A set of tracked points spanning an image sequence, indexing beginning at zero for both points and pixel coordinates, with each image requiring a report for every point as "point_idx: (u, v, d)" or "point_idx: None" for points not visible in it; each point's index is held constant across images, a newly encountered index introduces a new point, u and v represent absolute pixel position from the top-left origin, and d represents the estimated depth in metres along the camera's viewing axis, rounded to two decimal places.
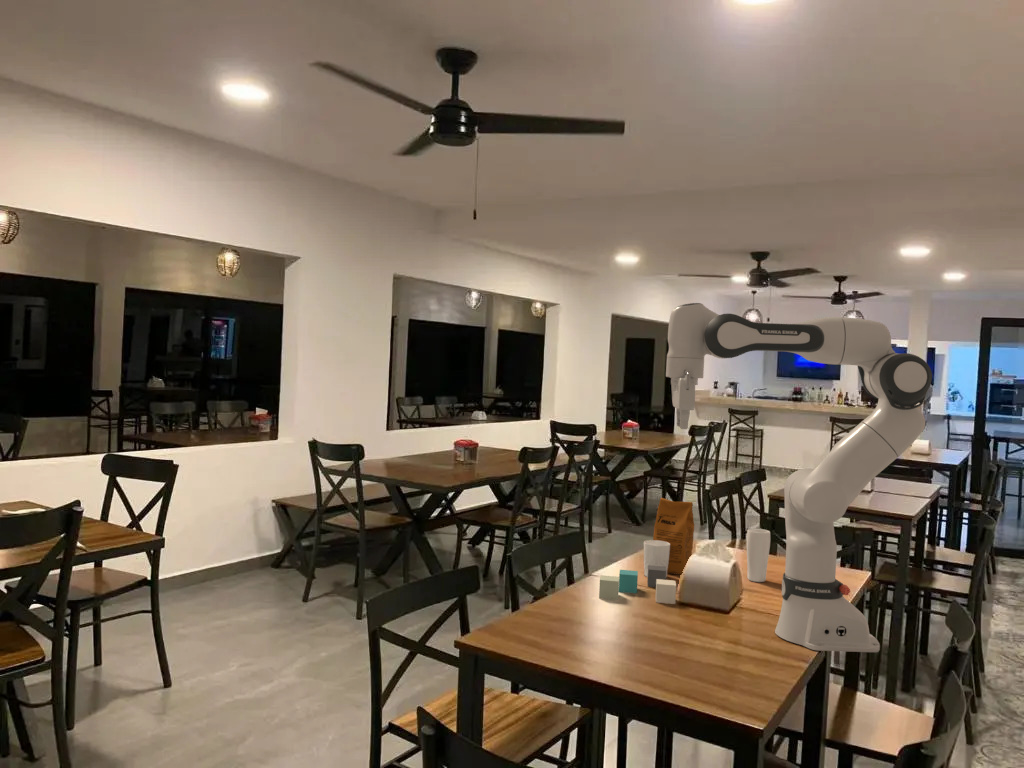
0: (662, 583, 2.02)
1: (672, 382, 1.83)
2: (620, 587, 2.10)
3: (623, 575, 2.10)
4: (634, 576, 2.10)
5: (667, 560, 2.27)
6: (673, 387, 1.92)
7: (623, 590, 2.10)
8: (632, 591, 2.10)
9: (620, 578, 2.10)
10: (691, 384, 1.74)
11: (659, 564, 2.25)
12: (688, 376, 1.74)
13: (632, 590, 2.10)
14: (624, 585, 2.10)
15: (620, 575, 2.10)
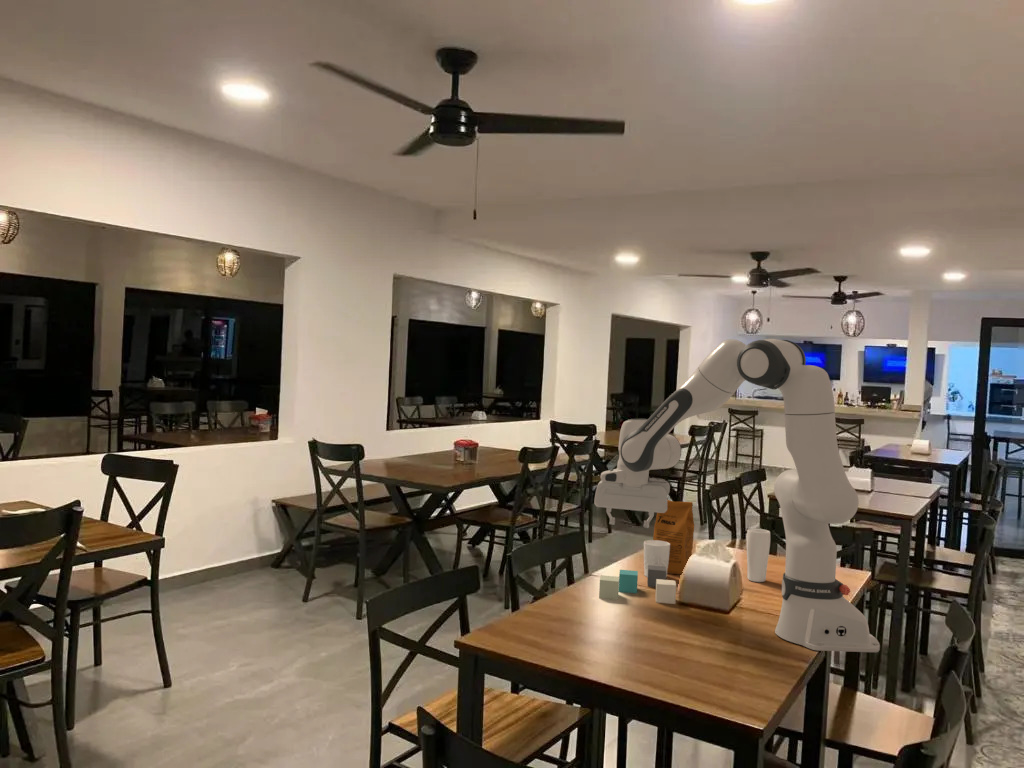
0: (662, 583, 2.02)
1: (636, 488, 2.09)
2: (620, 587, 2.10)
3: (623, 575, 2.10)
4: (634, 576, 2.10)
5: (667, 560, 2.27)
6: (603, 490, 2.11)
7: (623, 590, 2.10)
8: (632, 591, 2.10)
9: (620, 578, 2.10)
10: None
11: (659, 564, 2.25)
12: (669, 484, 2.10)
13: (632, 590, 2.10)
14: (624, 585, 2.10)
15: (620, 575, 2.10)
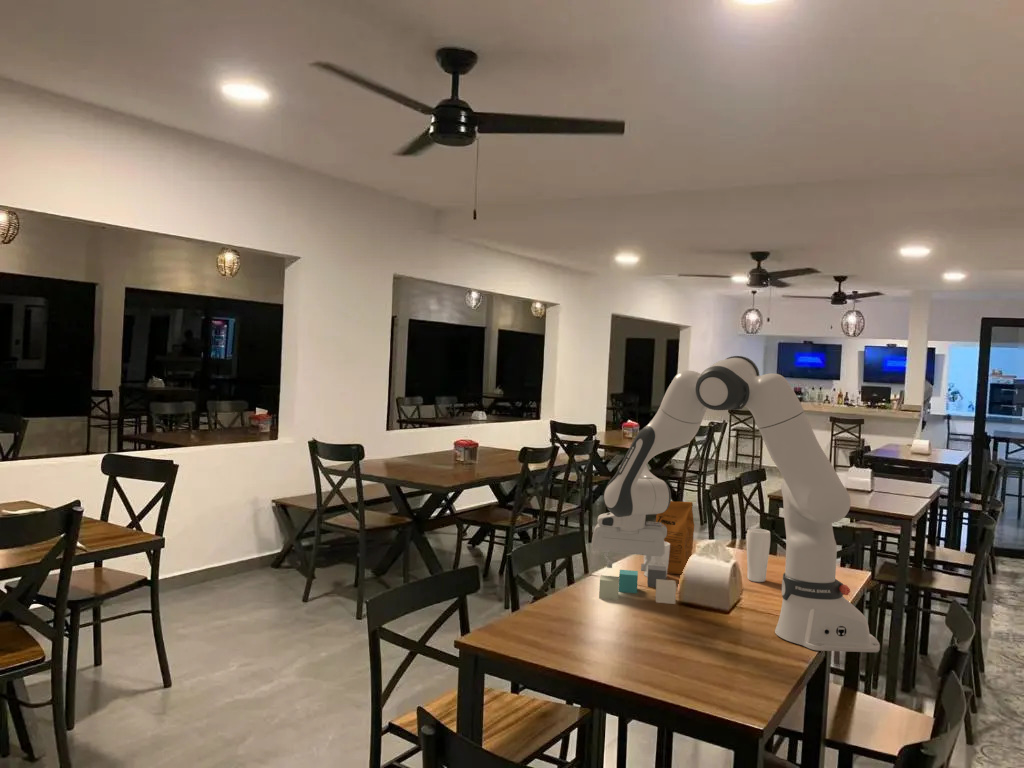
0: (662, 583, 2.02)
1: (633, 532, 2.09)
2: (620, 587, 2.10)
3: (623, 575, 2.10)
4: (634, 576, 2.10)
5: (667, 560, 2.27)
6: (600, 533, 2.11)
7: (623, 590, 2.10)
8: (632, 591, 2.10)
9: (620, 578, 2.10)
10: None
11: (659, 564, 2.25)
12: (666, 528, 2.10)
13: (632, 590, 2.10)
14: (624, 585, 2.10)
15: (620, 575, 2.10)
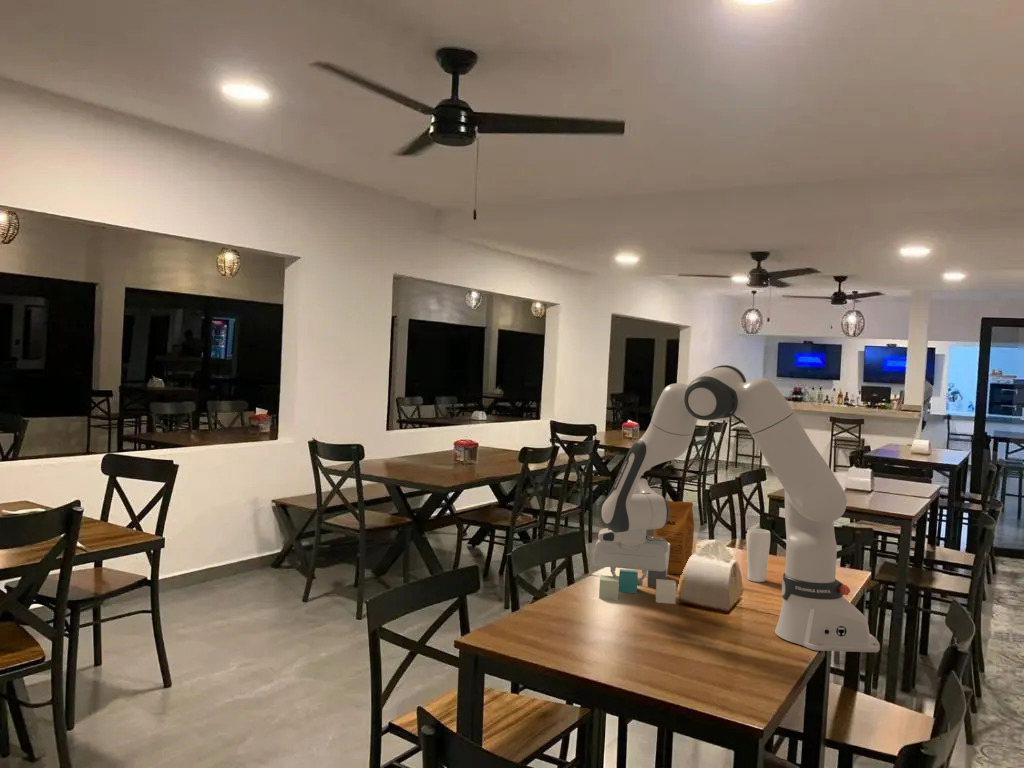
0: (662, 583, 2.02)
1: (634, 548, 2.09)
2: (620, 587, 2.10)
3: (623, 575, 2.10)
4: (634, 576, 2.10)
5: (667, 560, 2.27)
6: (601, 549, 2.12)
7: (623, 590, 2.10)
8: (632, 591, 2.10)
9: (620, 578, 2.10)
10: None
11: None
12: (667, 542, 2.11)
13: (632, 589, 2.10)
14: (624, 584, 2.10)
15: (620, 575, 2.10)
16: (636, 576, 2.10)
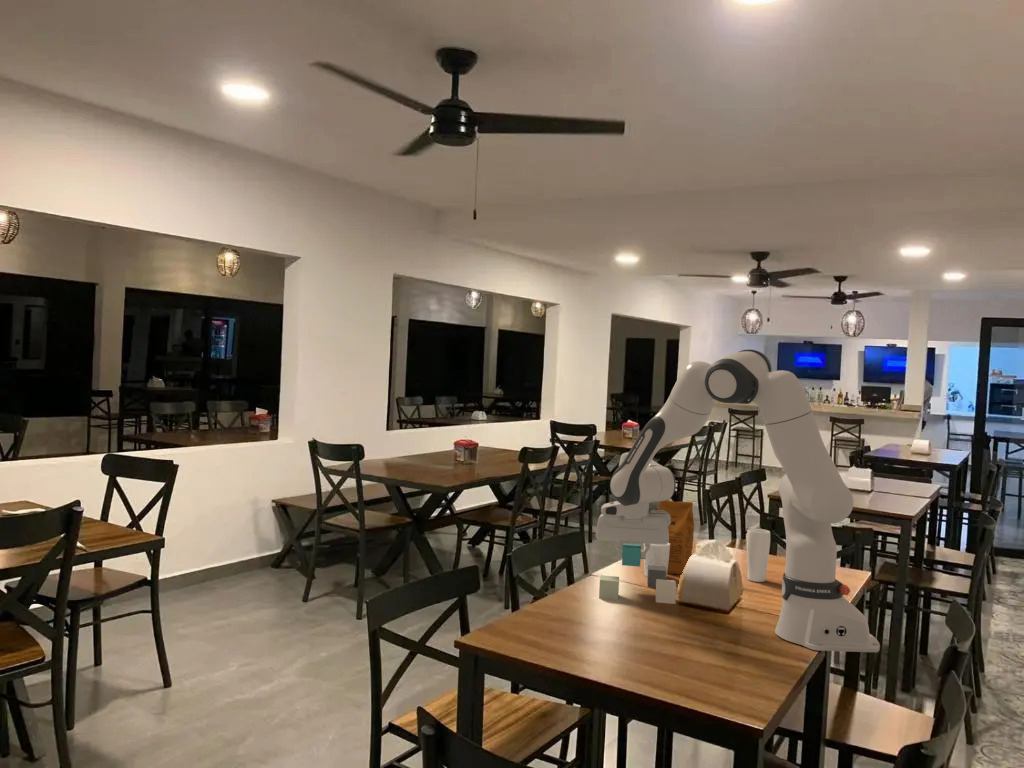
0: (662, 583, 2.02)
1: (636, 521, 2.09)
2: (623, 560, 2.10)
3: (626, 548, 2.10)
4: (637, 549, 2.10)
5: (667, 560, 2.27)
6: (604, 523, 2.12)
7: (626, 563, 2.10)
8: (635, 564, 2.10)
9: (623, 551, 2.10)
10: None
11: (659, 564, 2.25)
12: None
13: (635, 563, 2.10)
14: (627, 558, 2.10)
15: (623, 548, 2.10)
16: (639, 549, 2.10)
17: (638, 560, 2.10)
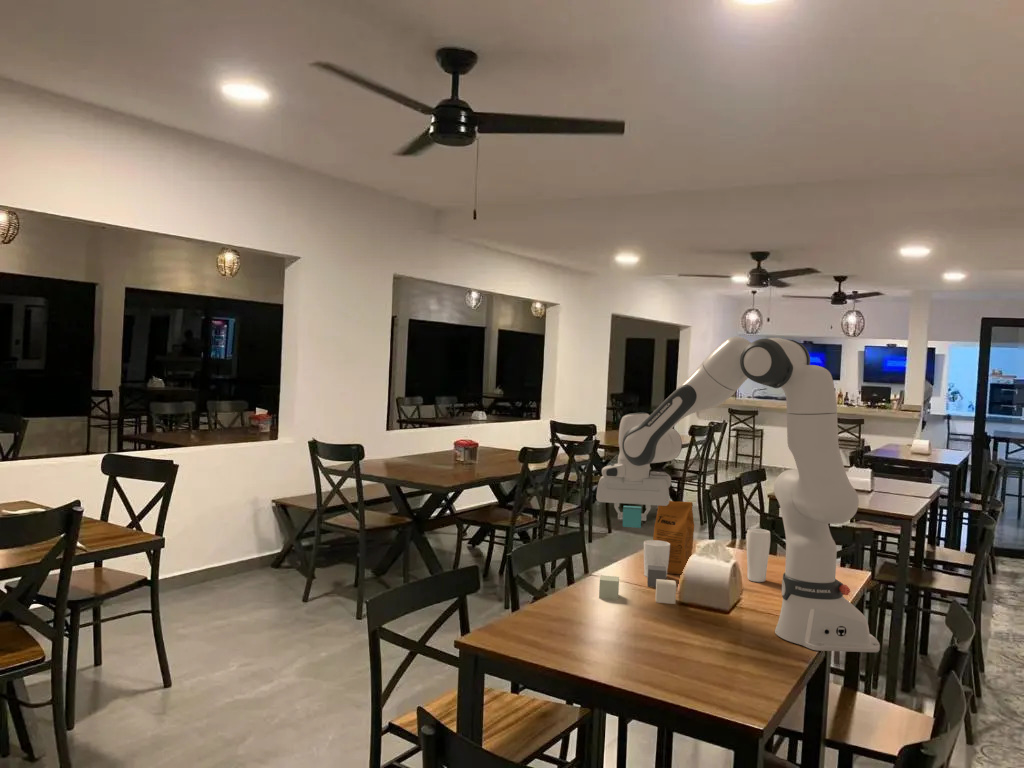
0: (662, 583, 2.02)
1: (637, 482, 2.10)
2: (624, 522, 2.11)
3: (627, 510, 2.11)
4: (638, 510, 2.10)
5: (667, 560, 2.27)
6: (605, 485, 2.12)
7: (627, 525, 2.11)
8: (636, 525, 2.10)
9: (624, 513, 2.11)
10: None
11: (659, 564, 2.25)
12: (670, 477, 2.11)
13: (636, 524, 2.10)
14: (627, 519, 2.11)
15: (624, 510, 2.11)
16: (640, 511, 2.10)
17: (639, 521, 2.10)
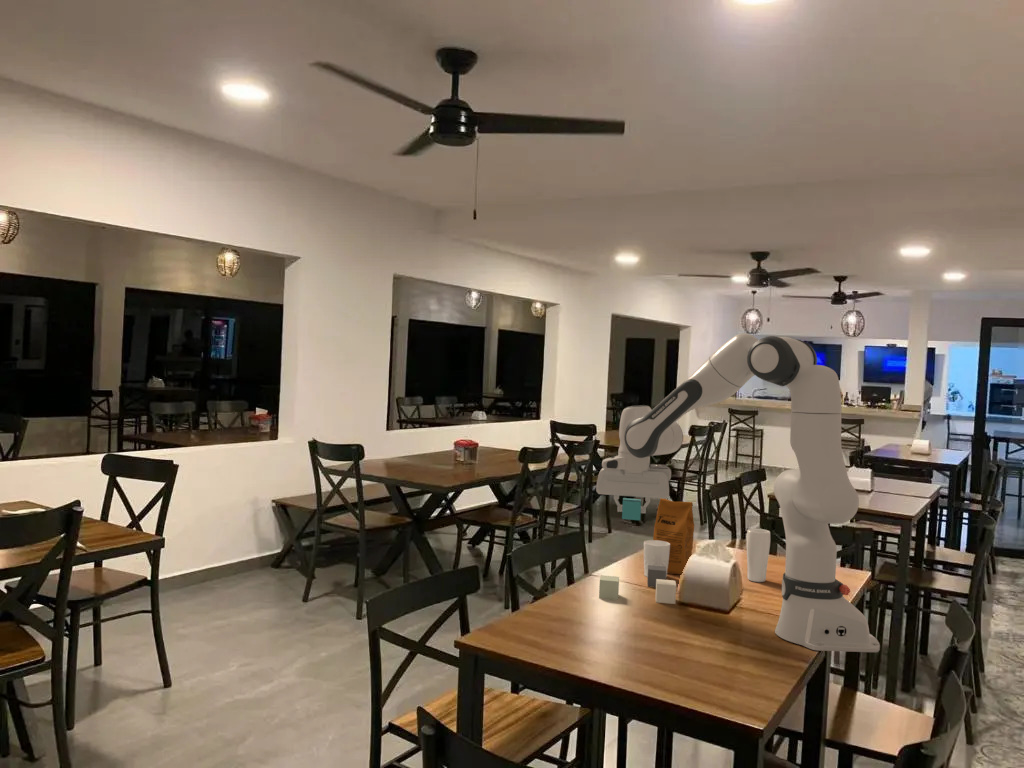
0: (662, 583, 2.02)
1: (637, 475, 2.10)
2: (623, 514, 2.11)
3: (626, 502, 2.11)
4: (637, 503, 2.10)
5: (667, 560, 2.27)
6: (605, 477, 2.12)
7: (626, 517, 2.11)
8: (635, 518, 2.10)
9: (623, 505, 2.11)
10: None
11: (659, 564, 2.25)
12: (670, 470, 2.11)
13: (635, 517, 2.10)
14: (627, 511, 2.11)
15: (623, 502, 2.11)
16: (639, 503, 2.10)
17: (638, 514, 2.10)
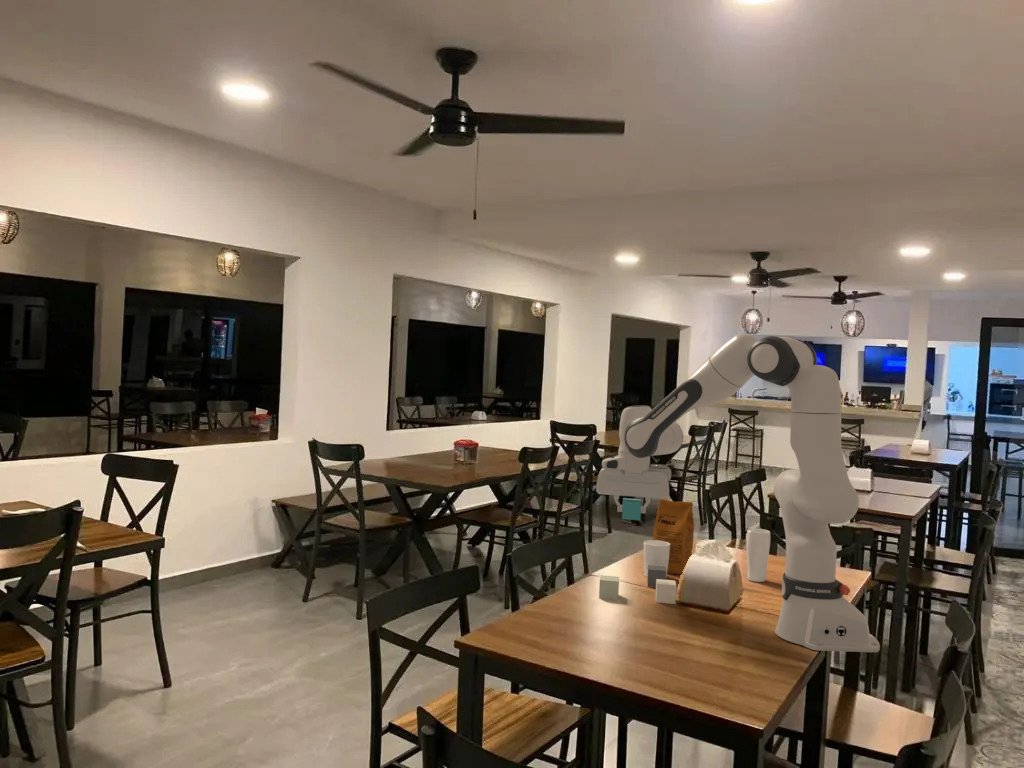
0: (662, 583, 2.02)
1: (637, 475, 2.10)
2: (623, 514, 2.11)
3: (626, 502, 2.11)
4: (637, 503, 2.10)
5: (667, 560, 2.27)
6: (605, 477, 2.12)
7: (626, 517, 2.11)
8: (635, 518, 2.10)
9: (623, 505, 2.11)
10: None
11: (659, 564, 2.25)
12: (670, 470, 2.11)
13: (635, 517, 2.10)
14: (627, 511, 2.11)
15: (623, 502, 2.11)
16: (639, 503, 2.10)
17: (638, 514, 2.10)
